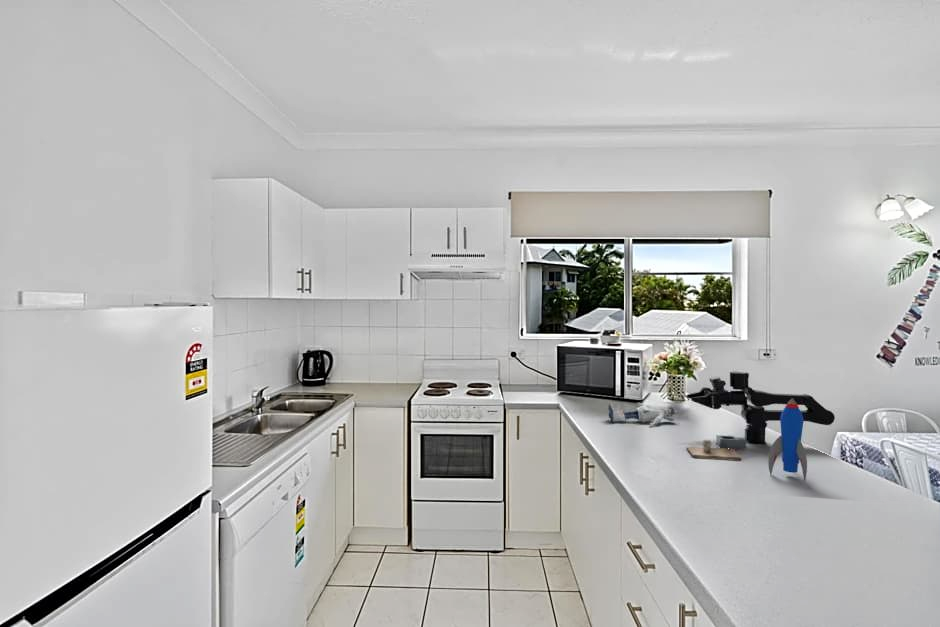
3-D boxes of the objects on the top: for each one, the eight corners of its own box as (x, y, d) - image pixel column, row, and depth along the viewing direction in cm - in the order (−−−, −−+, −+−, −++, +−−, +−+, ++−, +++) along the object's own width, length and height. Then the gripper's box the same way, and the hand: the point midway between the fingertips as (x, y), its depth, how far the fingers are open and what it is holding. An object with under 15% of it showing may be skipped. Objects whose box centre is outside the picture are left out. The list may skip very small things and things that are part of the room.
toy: (605, 396, 276) (669, 392, 274) (605, 412, 278) (669, 408, 276) (614, 417, 254) (684, 414, 252) (614, 435, 256) (684, 431, 254)
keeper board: (732, 451, 215) (732, 438, 215) (740, 460, 203) (741, 446, 203) (686, 448, 218) (686, 435, 218) (692, 457, 206) (692, 443, 206)
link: (742, 445, 224) (742, 436, 224) (747, 450, 217) (747, 440, 217) (716, 444, 226) (716, 435, 226) (720, 448, 219) (720, 439, 219)
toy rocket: (807, 482, 180) (809, 401, 179) (773, 479, 181) (775, 400, 181) (795, 472, 190) (797, 395, 189) (763, 469, 192) (765, 394, 191)
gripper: (723, 375, 241) (684, 375, 243) (736, 380, 222) (693, 380, 225) (724, 402, 241) (684, 401, 243) (737, 409, 222) (694, 409, 225)
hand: (689, 397), depth 234 cm, fingers open, 9 cm apart
